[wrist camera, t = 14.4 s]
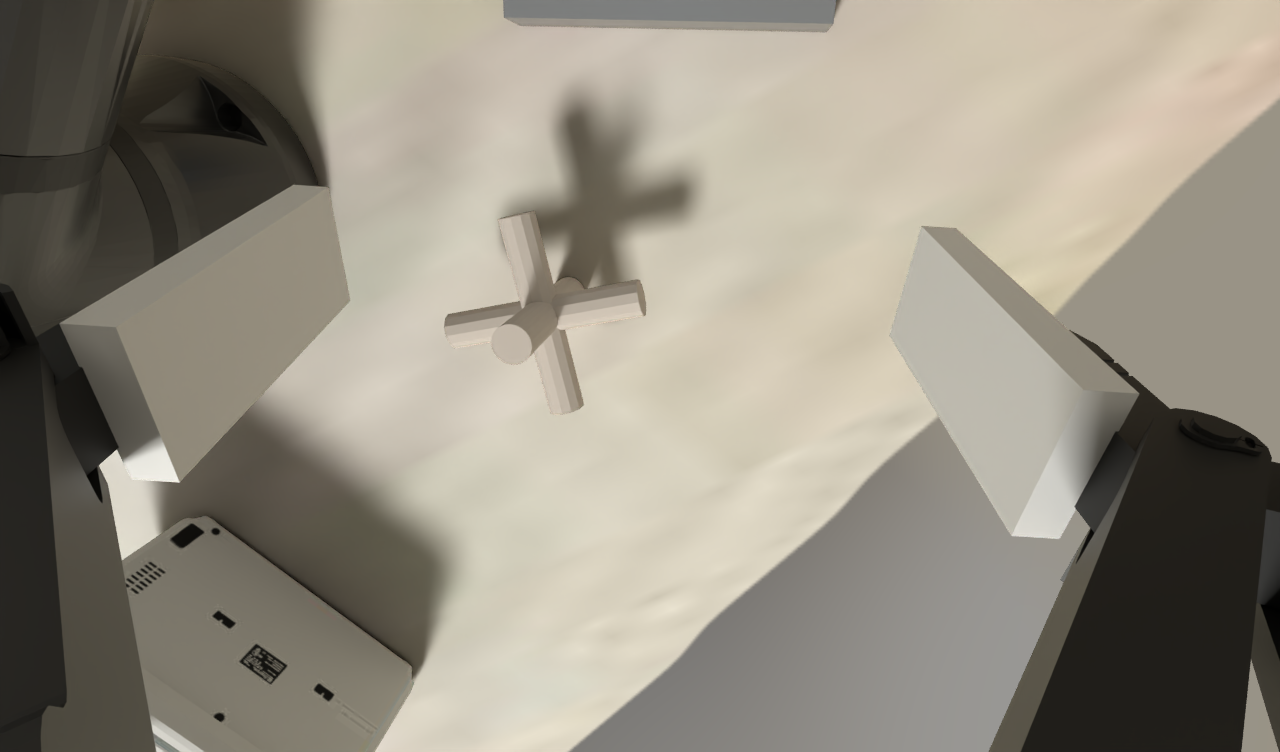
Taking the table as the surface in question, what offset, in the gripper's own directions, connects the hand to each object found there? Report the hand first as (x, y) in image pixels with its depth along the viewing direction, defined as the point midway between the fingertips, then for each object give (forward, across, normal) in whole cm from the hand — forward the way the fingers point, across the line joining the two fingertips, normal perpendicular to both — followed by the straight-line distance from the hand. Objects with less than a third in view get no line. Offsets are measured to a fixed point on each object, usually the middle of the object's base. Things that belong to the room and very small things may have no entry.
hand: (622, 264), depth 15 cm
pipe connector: (+20, -4, -10) cm, 23 cm away
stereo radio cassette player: (+18, -24, -37) cm, 47 cm away
